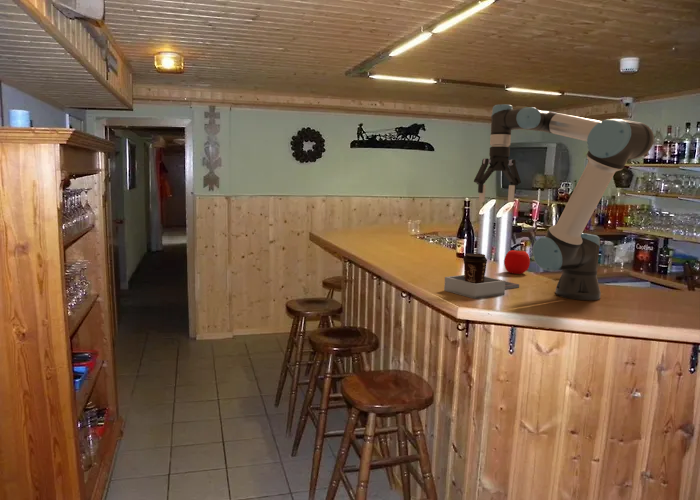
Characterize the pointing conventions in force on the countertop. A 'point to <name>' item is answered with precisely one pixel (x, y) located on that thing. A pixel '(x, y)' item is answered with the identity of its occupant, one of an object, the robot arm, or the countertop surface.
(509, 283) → the collar
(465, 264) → the coffee cup
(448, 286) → the bin
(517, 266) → the tomato
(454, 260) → the countertop surface
